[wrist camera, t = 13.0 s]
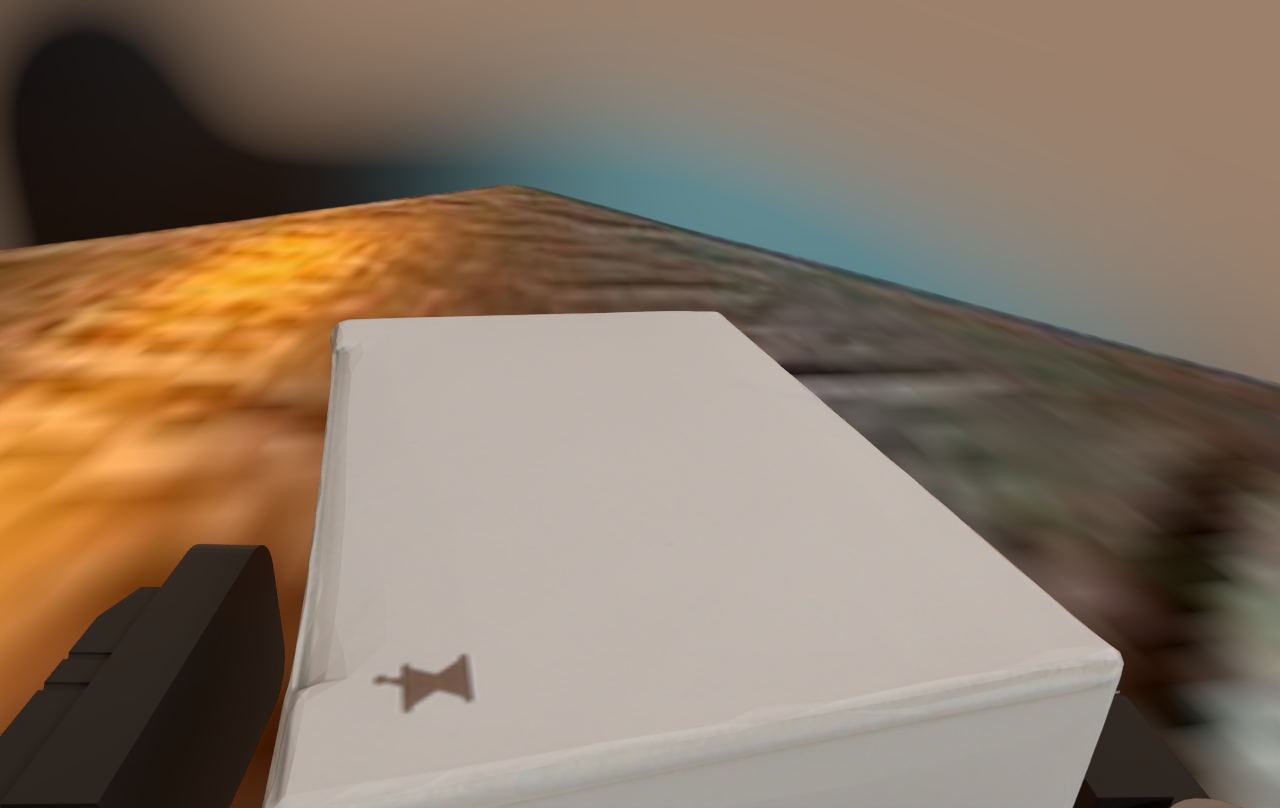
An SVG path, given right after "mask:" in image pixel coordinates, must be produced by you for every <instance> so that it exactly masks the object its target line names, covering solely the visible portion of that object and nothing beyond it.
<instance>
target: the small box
mask: <svg viewBox="0 0 1280 808" xmlns="http://www.w3.org/2000/svg"><path fill="white" fill-rule="evenodd" d="M330 344H331V382H330V395H329V406H328V414H327V422H326V428H325V436H324V446H323V455H322V464H321V474H320V483H319V491H318V499H317V506H316V513H315V521H314V528H313V535H312V543H311V550H310V558H309V565H308V573H307V581H306V588H305V594H304V601H303V607H302V613H301V619H300V625H299V631H298V637H297V644H296V650H295V656H294V661H293V666H292V671H291V676H290V681H289V685H288V689H287V692H286V695H285V699H284V703H283V708H282V713H281V718H280V723H279V728H278V733H277V738H276V743H275V748H274V753H273V758H272V763H271V768H270V773H269V778H268V782H267V787H266V792H265V797H264V801H263V805H262V808H1073V805H1074V803H1075V800H1076V797H1077V795H1078V792H1079V790H1080V787H1081V784H1082V782H1083V779H1084V777H1085V774H1086V771H1087V769H1088V766H1089V763H1090V761H1091V758H1092V755H1093V752H1094V750H1095V747H1096V744H1097V742H1098V739H1099V736H1100V734H1101V731H1102V728H1103V726H1104V723H1105V720H1106V717H1107V714H1108V711H1109V709H1110V706H1111V703H1112V700H1113V697H1114V694H1115V691H1116V688H1117V685H1118V682H1119V680H1120V677H1121V673H1122V668H1123V664H1124V663H1123V660H1122V657H1121V654H1120V652H1119V651H1118V650H1116V649H1115V648H1114V647H1112V646H1111V645H1109V644H1108V643H1107V642H1105V641H1104V640H1103V639H1101V638H1100V637H1099V636H1097V635H1096V634H1095V633H1094V632H1093V631H1091V630H1090V629H1089V628H1088V627H1087V626H1085V625H1084V624H1083V623H1082V622H1080V621H1079V620H1078V619H1077V618H1076V617H1074V616H1073V615H1072V614H1071V613H1070V612H1069V611H1067V610H1066V609H1065V608H1064V607H1063V606H1062V605H1060V604H1059V603H1058V602H1057V601H1056V600H1055V599H1053V598H1052V597H1051V596H1050V595H1049V594H1048V593H1046V592H1045V591H1044V590H1043V589H1042V588H1040V587H1039V586H1038V585H1037V584H1036V583H1035V582H1033V581H1032V580H1031V579H1030V578H1029V577H1028V576H1026V575H1025V574H1024V573H1023V572H1022V571H1021V570H1019V569H1018V568H1017V567H1016V566H1015V565H1014V564H1012V563H1011V562H1010V561H1009V560H1008V559H1007V558H1005V557H1004V556H1003V555H1002V554H1001V553H1000V552H998V551H997V550H996V549H995V548H994V547H993V546H991V545H990V544H989V543H988V542H987V541H986V540H985V539H983V538H982V537H981V536H980V535H979V534H977V533H976V532H975V531H974V530H973V529H971V528H970V527H969V526H968V525H966V524H965V523H964V522H963V521H962V520H960V519H959V518H958V517H957V516H956V515H955V514H954V513H953V512H951V511H950V510H949V509H948V508H947V507H946V506H945V505H943V504H942V503H941V502H940V501H939V500H937V499H936V498H935V497H934V496H933V495H931V494H930V493H929V492H928V491H927V490H926V489H924V488H923V487H922V486H921V485H920V484H919V483H917V482H916V481H915V480H914V479H913V478H912V477H910V476H909V475H908V474H907V473H906V472H904V471H903V470H902V469H901V468H900V467H898V466H897V465H896V464H895V463H894V462H892V461H891V460H890V459H889V458H888V457H886V456H885V455H884V454H883V453H882V452H880V451H879V450H878V449H877V448H876V447H874V446H873V445H872V444H871V443H870V442H869V441H868V440H866V439H865V438H864V437H863V436H862V435H861V434H860V433H858V432H857V431H856V430H855V429H854V428H853V427H851V426H850V425H849V424H848V423H847V422H846V421H844V420H843V419H842V418H841V417H840V416H838V415H837V414H836V413H835V412H834V411H833V410H831V409H830V408H829V407H828V406H827V405H826V404H825V403H824V402H822V401H821V400H820V399H819V398H818V397H817V396H815V395H814V394H813V393H812V392H811V391H810V390H808V389H807V388H806V387H805V386H804V385H803V384H801V383H800V382H799V381H798V380H797V379H796V378H794V377H793V376H792V375H791V374H789V373H788V372H787V371H786V370H784V369H783V368H782V367H781V366H780V365H779V364H778V363H777V362H776V361H775V360H773V359H772V358H771V357H769V356H768V355H767V354H766V353H765V352H764V351H763V350H762V349H760V348H759V347H758V346H757V345H756V344H755V343H753V342H752V341H751V340H750V339H749V338H748V337H746V336H745V335H744V334H743V333H742V332H741V331H740V330H738V329H737V328H736V327H735V326H734V325H732V324H731V323H730V322H729V321H728V320H727V319H726V318H725V317H724V316H723V315H722V314H720V313H717V312H691V311H661V312H625V313H593V314H545V315H505V316H465V317H425V318H389V319H356V320H346V321H342V322H339V323H338V324H337V325H336V326H335V327H334V328H333V329H332V332H331V337H330Z"/></svg>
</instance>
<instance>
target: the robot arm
mask: <svg viewBox="0 0 1280 808" xmlns="http://www.w3.org/2000/svg"><path fill="white" fill-rule="evenodd" d="M284 662H285V650H284V641H283V634H282V626H281V619H280V612H279V605H278V598H277V591H276V583H275V576H274V569H273V562H272V558H271V554H270V552H269V550H268V548H267V547H266V546H264V545H218V544H197V545H194V546H193V547H192V548H190V550H189V551H188V552H187V553H186V555H185V556H184V557H183V559H182V560H181V561H180V563H179V564H178V565H177V567H176V568H175V569H174V571H173V572H172V573H171V575H170V576H169V577H168V579H167V580H166V581H165V583H164V584H163V585H162V587H141V588H139V589H138V590H136V591H135V592H133V593H132V594H130V595H129V596H128V597H126V598H125V599H123V600H122V601H120V602H119V603H117V604H116V605H114V606H113V607H111V608H110V609H108V610H107V611H105V612H104V613H103V614H101V615H100V616H98V617H97V618H96V620H95V621H94V622H93V623H92V624H91V626H90V627H89V628H88V629H87V631H86V632H85V633H84V634H83V635H82V637H81V638H80V639H79V640H78V642H77V643H76V644H75V645H74V647H73V648H72V649H71V650H70V651H69V657H68V659H63V660H62V661H61V663H60V664H59V665H58V666H57V667H56V669H55V670H54V671H53V672H52V674H51V675H50V676H49V677H48V678H47V680H46V681H45V682H44V683H45V685H44V689H43V690H38V691H37V692H36V693H35V694H34V696H33V697H32V698H31V699H30V701H29V702H28V703H27V704H26V705H25V707H24V708H23V709H22V710H21V712H20V713H19V714H18V715H17V717H16V718H15V719H14V720H13V721H12V723H11V724H10V725H9V726H8V728H7V729H6V730H5V731H4V733H3V734H2V735H1V736H0V808H229V807H230V805H231V803H232V801H233V798H234V796H235V794H236V792H237V789H238V787H239V785H240V783H241V780H242V778H243V776H244V774H245V771H246V769H247V767H248V765H249V762H250V760H251V758H252V756H253V754H254V751H255V749H256V747H257V745H258V742H259V740H260V738H261V736H262V733H263V731H264V729H265V727H266V724H267V722H268V720H269V718H270V715H271V713H272V711H273V709H274V707H275V704H276V702H277V699H278V696H279V693H280V689H281V685H282V680H283V673H284ZM1073 808H1242V807H1239V806H1237V805H1234V804H1230V803H1226V802H1223V801H1218V800H1212V799H1210V798H1209V796H1208V795H1207V794H1206V793H1205V792H1204V790H1203V789H1202V788H1201V787H1200V785H1199V784H1198V783H1197V782H1196V781H1195V779H1194V778H1193V777H1192V776H1191V774H1190V773H1189V772H1188V771H1187V770H1186V768H1185V767H1184V766H1183V765H1182V764H1181V762H1180V761H1179V760H1178V759H1177V757H1176V756H1175V755H1174V754H1173V753H1172V751H1171V750H1170V749H1169V748H1168V746H1167V745H1166V744H1165V743H1164V742H1163V740H1162V739H1161V738H1160V737H1159V735H1158V734H1157V733H1156V732H1155V731H1154V729H1153V728H1152V727H1151V726H1150V724H1149V723H1148V722H1147V721H1146V720H1145V718H1144V717H1143V716H1142V715H1141V713H1140V712H1139V711H1138V710H1137V709H1136V707H1135V706H1134V705H1133V704H1132V702H1131V701H1130V700H1129V699H1128V698H1127V696H1126V695H1121V694H1120V688H1119V687H1118V685H1117V688H1116V691H1115V694H1114V697H1113V700H1112V703H1111V706H1110V709H1109V711H1108V714H1107V717H1106V720H1105V723H1104V726H1103V728H1102V731H1101V734H1100V736H1099V739H1098V742H1097V744H1096V747H1095V750H1094V752H1093V755H1092V758H1091V761H1090V763H1089V766H1088V769H1087V771H1086V774H1085V777H1084V779H1083V782H1082V784H1081V787H1080V790H1079V792H1078V795H1077V797H1076V800H1075V803H1074V805H1073Z"/></svg>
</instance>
